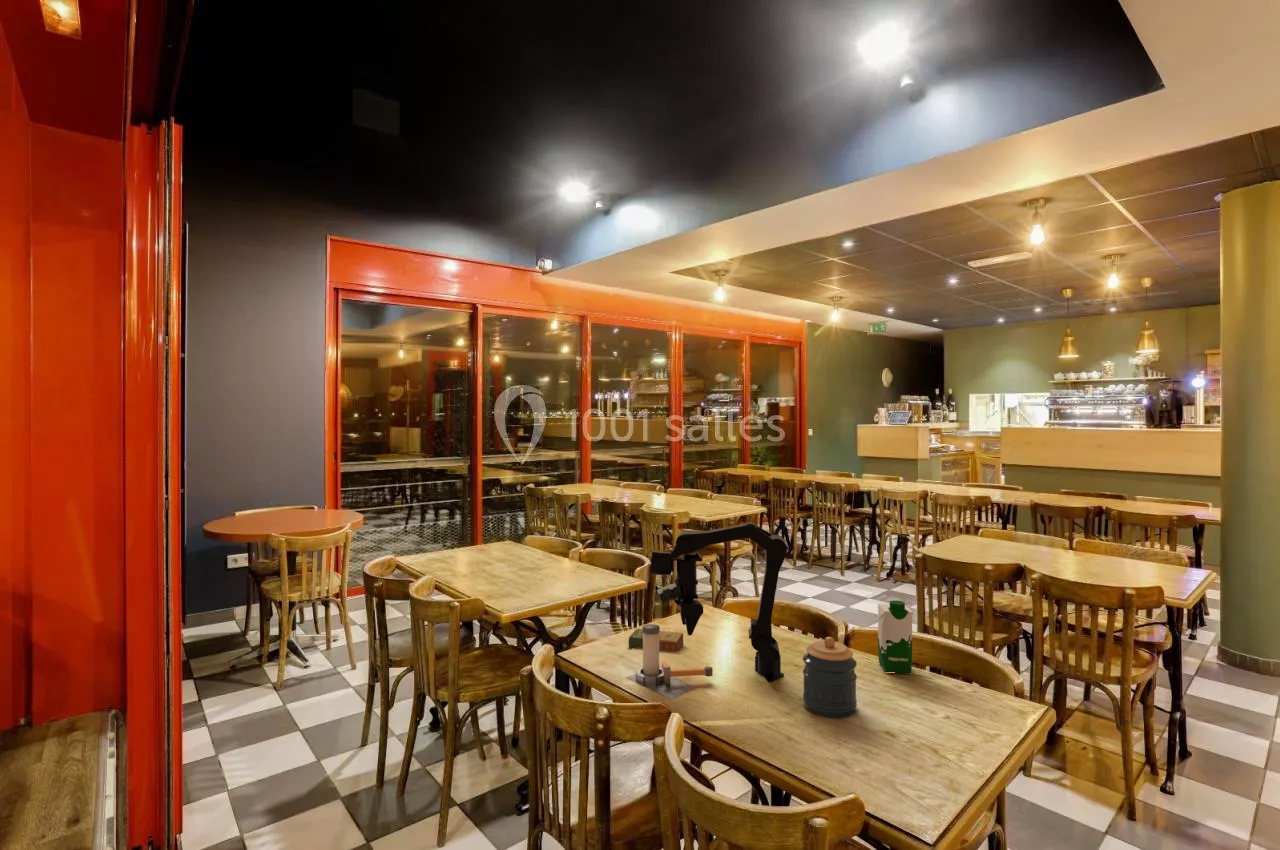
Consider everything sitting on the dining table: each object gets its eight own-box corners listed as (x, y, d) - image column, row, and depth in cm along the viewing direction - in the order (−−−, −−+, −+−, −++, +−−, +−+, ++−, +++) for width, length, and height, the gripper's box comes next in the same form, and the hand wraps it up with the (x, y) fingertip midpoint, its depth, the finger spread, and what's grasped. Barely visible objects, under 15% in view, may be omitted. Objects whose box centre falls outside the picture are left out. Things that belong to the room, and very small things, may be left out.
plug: (663, 678, 174) (663, 627, 174) (650, 683, 171) (650, 631, 171) (651, 673, 178) (651, 623, 178) (638, 677, 175) (638, 626, 174)
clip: (707, 671, 179) (707, 656, 179) (713, 682, 171) (713, 666, 171) (661, 673, 177) (661, 658, 177) (665, 685, 170) (665, 668, 170)
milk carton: (883, 674, 178) (883, 604, 178) (874, 662, 187) (874, 595, 187) (915, 676, 177) (915, 605, 177) (905, 663, 186) (905, 596, 186)
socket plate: (697, 690, 168) (697, 681, 168) (671, 702, 161) (671, 692, 161) (652, 670, 181) (652, 661, 181) (625, 680, 175) (625, 671, 175)
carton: (677, 654, 195) (677, 641, 194) (628, 649, 199) (628, 636, 199) (683, 645, 203) (683, 632, 202) (635, 640, 207) (635, 627, 207)
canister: (820, 722, 151) (820, 648, 150) (793, 698, 163) (793, 631, 163) (867, 715, 154) (867, 643, 154) (837, 692, 167) (837, 626, 166)
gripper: (654, 568, 189) (655, 620, 189) (663, 585, 171) (663, 642, 171) (691, 567, 190) (691, 619, 190) (703, 583, 172) (703, 640, 172)
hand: (687, 629), depth 181 cm, fingers open, 9 cm apart
